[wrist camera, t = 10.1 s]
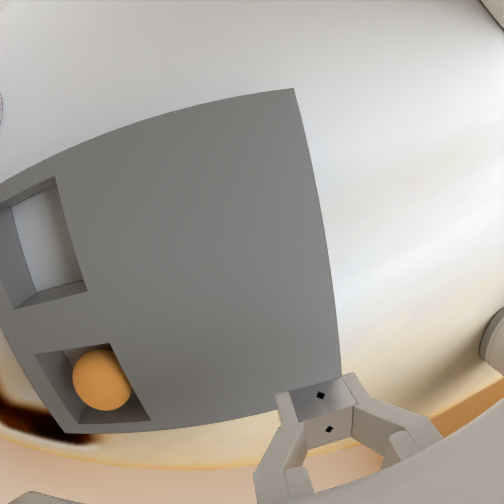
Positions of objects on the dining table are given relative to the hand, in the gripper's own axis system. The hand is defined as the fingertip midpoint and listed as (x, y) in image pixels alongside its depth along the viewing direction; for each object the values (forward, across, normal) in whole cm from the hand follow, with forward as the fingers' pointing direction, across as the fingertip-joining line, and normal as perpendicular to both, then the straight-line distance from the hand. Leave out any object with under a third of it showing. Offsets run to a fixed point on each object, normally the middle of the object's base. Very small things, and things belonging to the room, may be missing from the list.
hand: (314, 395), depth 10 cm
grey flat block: (+8, +7, -2) cm, 11 cm away
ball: (+6, +12, +2) cm, 13 cm away
